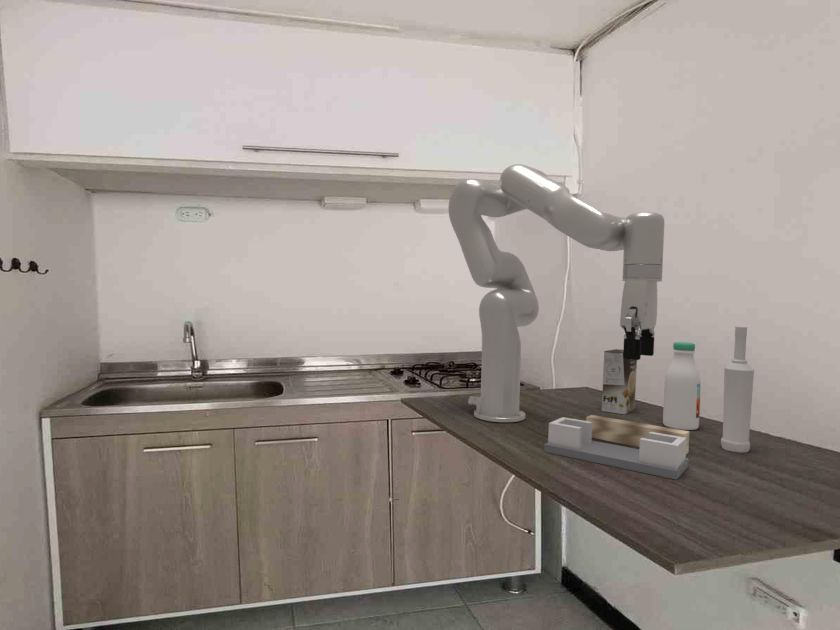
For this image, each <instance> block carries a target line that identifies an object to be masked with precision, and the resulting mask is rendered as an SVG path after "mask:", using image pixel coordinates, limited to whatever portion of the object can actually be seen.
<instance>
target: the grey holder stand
mask: <svg viewBox="0 0 840 630" xmlns="http://www.w3.org/2000/svg"><path fill="white" fill-rule="evenodd" d="M547 436H548V437H547V442H545V443H544V444H543V445H544V446H543V452H544V453H547V454H553V455H558V456H561V457H562V456H563V457H567V458H572V459H577V460H581V461H585V462H591V463H595V464H601V465H605V466H609V467H615V468H620V469H624V470H629V471H633V472H639V473H644V474H648V475H653V476H657V477H661V478H666V479H672V480H676V481H677V480H678V479H679V478H680V477H681V475H683V473H684V472H686V470H687V469H688V468H689V461H690V460H689V458H687V457H686V456H687V454H686V438H685V437H679V436H673V435H667V434H661V433H655V432H649V434H648V439H646V438H641V439H640V447H638V448H639V449H638V448H633V447H628V446H623V445H618V444H614V443H613V444H612V443H606V442H603V441H602V442H601V441H598V440H597V441H596V440H593V438H592V422H589V421H586V420H583V419H582V420H580V419H576V418H569V417H564V416H563V417H560V418H558V419H557V418H556V419H555V420H553V421H551V422H548V435H547Z"/></svg>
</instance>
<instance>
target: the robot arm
mask: <svg viewBox="0 0 840 630" xmlns="http://www.w3.org/2000/svg"><path fill="white" fill-rule="evenodd" d="M524 210H529V212H532V213H533V214H535V215H537V216H539V217H540V218H542V219H543V220H545V221H546V222H547V223H548V224H550V225H551V226H552V227H553V228H555V229H556V230H558V232H561V233H562V234H564V235H566V236H567V237H569V238H571V239H572V240H574V241H576V242H577V243H579V244H581V245H582V246H585V247H587V248H590V249H595V250H600V251H604V252H605V251H606V252H617V251H623V259H622V260H623V261H622V280H621V281H623V283H624V285H623V289H622V298H621V309H620V319H619V320H620V321H619V326H620V328H621V329H623V331H624V333H623V349H622V350H623V358H624V359H632V360H637V361H640V360H641V359H642V358H641V357H642V356H648V357H649V356H651V357H652V356H654V353H655V350H654V349H655V327H656V326H657V325H656V324H657V320H658V319H657V317H658V282H660V283H661V282H663V267H664V266H663V264H664V262H663V260H664V243H665V217H664V216H663V214H661V213H658V212H649V211H648V212H647V211H646V212H636V213H635V212H633V213H631V214H629V215H627V217H624V216H623V217H621V216H617V215H612V214H610V213H607V212H603V211H600V210H599V209H596V208H594V207H593V206H591V205H589V204H587V203H585V202H583V201H581V200H580V199H578V198H576V197H575V196H573V195H572V194H571V193H570V188H568V187H567V186H566V185H563V184H561V183H560V182H558V181H556V180H553V179H552V178H550V177H548V175H547V174H546V173H544V172H543V171H541V170H539V169H538V168H537V169H536V168H533V167H531V166H528V165H526V164H524V163H523V164H522V163H516V164H511V165H509V166H508V167H506V168H505V169H504V170H502V173H501V174H500V178H499V184H497V183H494V182H490V181H487V180H484V179H480V178H466V179H464V180H461V181H460V182H458V183H457V184H456V185H455V187H454V188H453V190H452V191H451V194H450V197H449V201H448V217H449V221H450V224H451V226H452V229H453V231H454V234H455V235H456V238H457V240H458V243H459V245H460V247H461V252H462V254H463V256H464V260H465V262H466V265H467V268H468V271H469V273H470V276H471V278H472V280H473V282H474V284H476V285H477V286H479V287H482V288H486V289H487V288H489V289H493V290H490V291H489V292H487V293H486V294H485V295H484V296H483V297H482V299H481V300H480V303H479V307H478V314H479V315H478V316H479V317H478V318H479V323H480V328H481V330H480V331H481V374H480V377H481V378H480V380H481V381H480V396H475V395H474V396H473V395H470V396H469V397H468V401H467V404H468V405H472V406H475V407H476V409H475V410H473V416H474V417H475V418H477V419H479V420H483V421H485V422H486V421H487V422H492V423H515V422H516V423H517V422H521V421H524V420H525V419H526V413H525V411H523V410H520V395H521V394H520V393H521V392H520V390H521V363H522V361H521V360H522V354H521V353H522V352H521V351H522V345H521V337H520V333H519V330H518V328H521V327H522V328H523V327H526V326H529V325H531V324H533V322H535V321H536V319H537V317H538V315H539V310H540V309H539V308H540V307H539V301H538V297H537V295H536V292H535V290H534V288H533V285H532V282H531V280H530V278H529V275H528V273H527V270H526V268H525V266H524V264H523V262H522V261H521V260H520V258H519V257H518V256H517V255H515V254H513V253H511V252H509V251H508V252H507V251H501V249H499V247H498V245H497V243H496V240H495V238H494V235H493V233H492V231H491V229H490V228H489V226H488V224H487V223H486V222H485V220H484V219H483V217H482V216H485V217H488V218H501V217H506V216H509V215H513V214H515V213H518V212H521V211H524Z"/></svg>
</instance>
